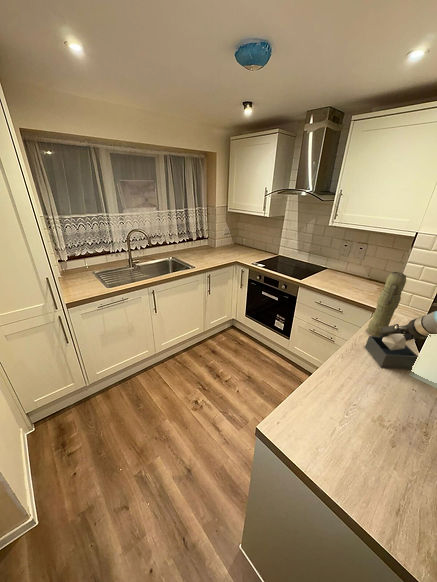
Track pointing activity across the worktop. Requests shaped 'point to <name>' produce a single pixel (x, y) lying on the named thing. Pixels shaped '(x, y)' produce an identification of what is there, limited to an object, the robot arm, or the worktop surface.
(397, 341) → the die
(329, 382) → the worktop surface
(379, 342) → the basin
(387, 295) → the green lumpy column
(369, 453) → the worktop surface
